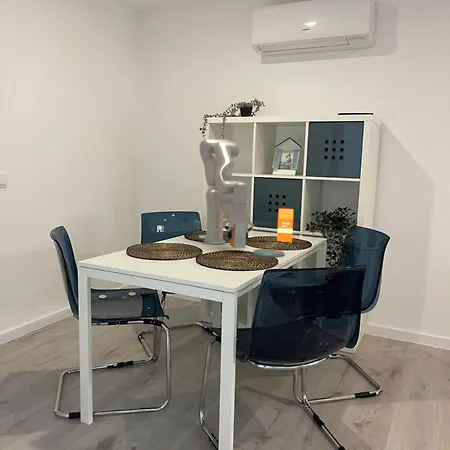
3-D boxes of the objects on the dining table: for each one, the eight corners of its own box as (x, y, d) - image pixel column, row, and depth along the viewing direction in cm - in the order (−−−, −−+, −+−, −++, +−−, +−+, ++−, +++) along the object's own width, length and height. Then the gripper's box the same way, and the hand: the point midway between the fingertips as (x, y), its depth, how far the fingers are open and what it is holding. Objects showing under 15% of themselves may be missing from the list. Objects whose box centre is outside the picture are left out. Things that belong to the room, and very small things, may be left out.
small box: (229, 245, 252) (230, 221, 250) (240, 245, 254) (241, 221, 252) (233, 248, 244) (235, 223, 242) (245, 248, 246) (246, 223, 244)
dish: (252, 256, 238) (253, 254, 238) (253, 250, 254) (253, 248, 254) (284, 258, 237) (285, 255, 237) (283, 251, 253) (283, 249, 252)
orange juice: (291, 243, 281) (293, 209, 278) (276, 242, 282) (278, 209, 279) (292, 241, 288) (293, 208, 286) (277, 240, 290) (279, 207, 287)
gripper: (222, 206, 242) (220, 239, 245) (256, 208, 241) (254, 241, 244) (223, 204, 250) (221, 237, 253) (256, 206, 249) (254, 238, 251)
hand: (237, 239), depth 248 cm, fingers closed on small box, 8 cm apart
